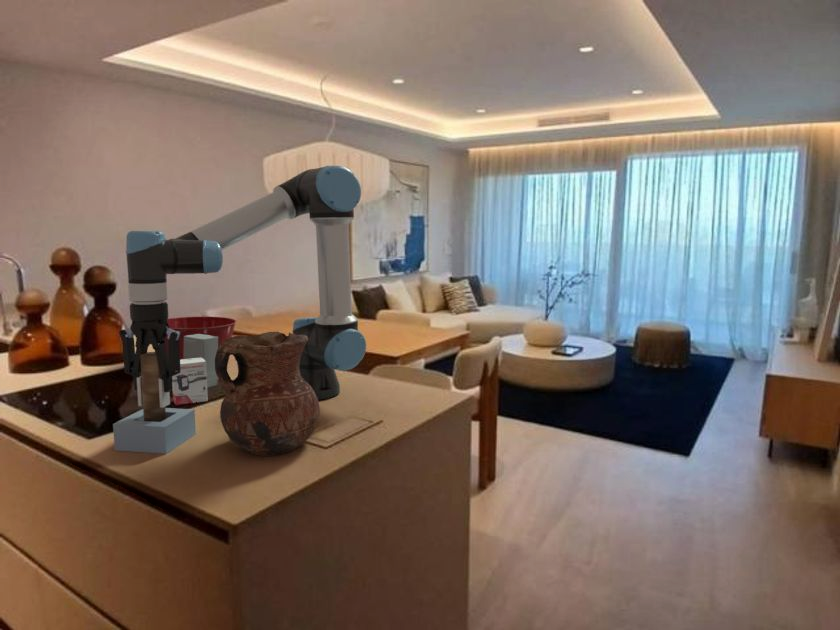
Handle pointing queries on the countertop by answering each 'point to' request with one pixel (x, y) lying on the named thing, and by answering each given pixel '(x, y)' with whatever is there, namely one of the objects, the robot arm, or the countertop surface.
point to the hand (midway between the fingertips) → (154, 404)
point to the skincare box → (203, 353)
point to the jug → (266, 393)
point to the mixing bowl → (201, 328)
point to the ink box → (190, 382)
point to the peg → (151, 388)
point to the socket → (154, 431)
